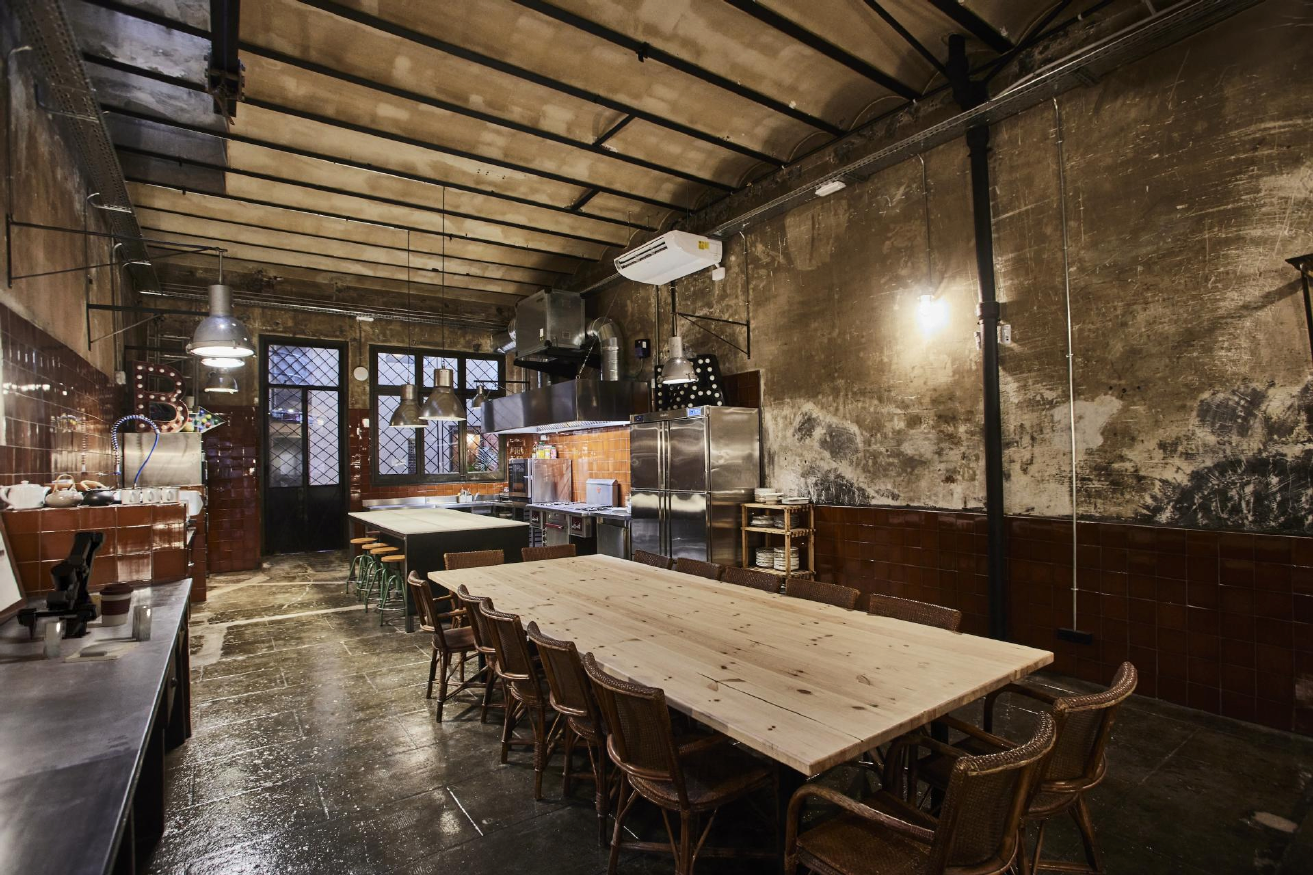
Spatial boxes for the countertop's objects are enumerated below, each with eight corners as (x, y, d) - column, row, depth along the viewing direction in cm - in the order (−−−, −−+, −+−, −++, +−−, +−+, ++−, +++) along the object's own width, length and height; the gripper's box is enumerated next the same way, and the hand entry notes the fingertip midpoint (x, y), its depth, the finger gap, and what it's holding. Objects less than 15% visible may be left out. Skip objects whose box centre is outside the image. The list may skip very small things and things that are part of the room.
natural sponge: (86, 624, 236) (88, 597, 236) (68, 622, 237) (70, 596, 238) (111, 618, 244) (113, 593, 245) (94, 617, 246) (96, 591, 247)
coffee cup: (138, 621, 241) (140, 583, 241) (113, 628, 231) (116, 587, 232) (115, 620, 242) (117, 581, 242) (89, 626, 232) (92, 586, 233)
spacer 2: (134, 636, 221) (136, 605, 222) (147, 635, 223) (150, 604, 223) (129, 639, 218) (131, 607, 218) (143, 638, 219) (145, 606, 220)
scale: (91, 648, 206) (92, 640, 206) (139, 645, 210) (139, 638, 211) (65, 662, 191) (65, 654, 191) (116, 659, 195) (117, 651, 196)
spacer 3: (138, 639, 218) (140, 607, 218) (152, 638, 219) (154, 607, 220) (133, 642, 214) (135, 610, 214) (147, 641, 215) (149, 609, 216)
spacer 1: (46, 656, 196) (49, 621, 197) (62, 655, 198) (65, 620, 198) (39, 659, 193) (42, 624, 193) (55, 658, 194) (58, 623, 195)
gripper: (20, 582, 195) (5, 625, 185) (99, 578, 205) (88, 619, 195) (27, 603, 201) (12, 645, 191) (102, 598, 211) (92, 638, 201)
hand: (51, 636), depth 195 cm, fingers open, 9 cm apart
